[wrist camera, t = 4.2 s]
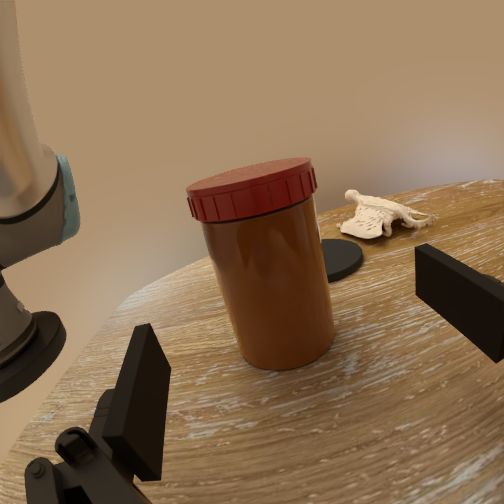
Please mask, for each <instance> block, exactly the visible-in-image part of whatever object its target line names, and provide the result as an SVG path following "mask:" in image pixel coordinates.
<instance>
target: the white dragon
mask: <svg viewBox="0 0 504 504" xmlns="http://www.w3.org/2000/svg"><path fill="white" fill-rule="evenodd" d="M345 198H346V200H349V201H353V202H357V204H358V207H357V208H356V210H357V211H355V213H356V215H355V217H354V218H349V220H348V221H347V222H344V223H343V225H341V224H339V223H338V224H337V227H338V228H340V230H341V232H343V233H348V234H351V235H354V236H357V237H361V238H367V239H370V238H374V237H377V236H380V235H381V234H383V235H385V236H388V237H390V236H391V233H392V232H391V230H392V229H390V228H391V227H390V226H391V224H390V223H393V222H392V221H393V220H395V219H398V218H401V220H402V217H403V219H404V221H405V222H406V223H407V224H405V223H401V225H402V226H405V227H408V228H411V227H412V226H415V228H416V226H418V228H421V227H422V226H423V227H425V225H426V223H427V224H428V227H429V224H430V223H431V220H432V223H433V220H434V219H435V215H434V213H433V214H432V213H431V214H430V213H428V214H430V215H427V214H423V213H420V212H418V210H413V209H410V208H409V207H405V206H403V205H400V204H397V203H395V202H390V201H388V200H386V199H380V198H379V197H377V198H375V197H372V196H363V195H360V193H359V192H358V191H356V190H348V191H347V192H346V193H345ZM409 213H413V214H418V215H422V216H430V217H429V218H428V219H425V220H422V221H418V220H414V219H412V218H411V217H412V215H411V214H409ZM436 218H437V217H436ZM435 220H436V219H435ZM383 221H384V222H383ZM382 223H383V225H384V229H385V231H386V232H384V231H382ZM413 224H414V225H413Z"/></svg>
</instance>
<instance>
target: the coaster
mask: <svg viewBox="0 0 504 504" xmlns="http://www.w3.org/2000/svg"><path fill="white" fill-rule="evenodd" d="M322 245H323V251H324V257H325V264H326V270H327V276H328V282H332V281H335V280H338V279H341V278H343V277H345V276H347V275H349V274H351V273H352V272H354V271H355V270H356V269H357V268H358V267H359V266H360V265H361V263H362V260H363V255H362V249H361V248H360V246H359V245H357V244H356V243H354V242H351V241H348V240H342V239H322Z"/></svg>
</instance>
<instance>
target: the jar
mask: <svg viewBox="0 0 504 504" xmlns="http://www.w3.org/2000/svg"><path fill="white" fill-rule="evenodd" d="M200 224H201V227H202V231H203V234H204V238H205V241H206V244H207V248H208V251H209V254H210V258H211V261H212V264H213V268H214V271H215V274H216V277H217V281H218V284H219V287H220V290H221V293H222V297H223V300H224V303H225V306H226V309H227V312H228V315H229V318H230V321H231V325H232V328H233V331H234V334H235V337H236V340H237V343H238V346H239V349H240V352H241V354H242V356H243V358H244V359H245V360H246V361H247V362H249V363H250V364H252V365H254V366H256V367H258V368H262V369H267V370H287V369H293V368H297V367H300V366H303V365H306V364H308V363H310V362H312V361H314V360H315V359H317V358H319V357H320V356H321V355H323V354H324V353H325V352H326V351H327V350H328V348H329V347H330V346H331V344H332V342H333V340H334V337H335V327H334V319H333V311H332V304H331V297H330V290H329V283H328V276H327V270H326V264H325V257H324V251H323V245H322V240H321V234H320V228H319V223H318V217H317V212H316V206H315V201H314V196H313V194H312V195H311V196H309V197H307V198H305V199H303V200H301V201H299V202H297V203H294V204H292V205H289V206H286V207H283V208H280V209H277V210H273V211H270V212H266V213H262V214H258V215H254V216H249V217H244V218H239V219H233V220H226V221H215V222H204V221H200Z"/></svg>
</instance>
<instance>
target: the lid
mask: <svg viewBox="0 0 504 504" xmlns="http://www.w3.org/2000/svg"><path fill="white" fill-rule="evenodd" d="M316 188H317V183H316V178H315V173H314V168H313V167H312V164H311V160H310V159H309V158H290V159H283V160H276V161H270V162H265V163H260V164H256V165H251V166H247V167H243V168H239V169H235V170H231V171H228V172H224V173H221V174H218V175H215V176H212V177H209V178H206V179H203V180H201V181H198V182H196V183H194V184H192V185H190V186H188V187H187V188H186V191H187V195H188V198H187V200H188V203H189V207H190V210H191V214H192V217H194V218H195V219H196V220H198V221H204V222H215V221H226V220H233V219H239V218H244V217H249V216H254V215H258V214H262V213H266V212H270V211H273V210H277V209H280V208H283V207H286V206H289V205H292V204H294V203H297V202H299V201H301V200H303V199H305V198H307V197H309V196H311V195H312V194H313V193H314V192H315V191H316Z"/></svg>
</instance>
